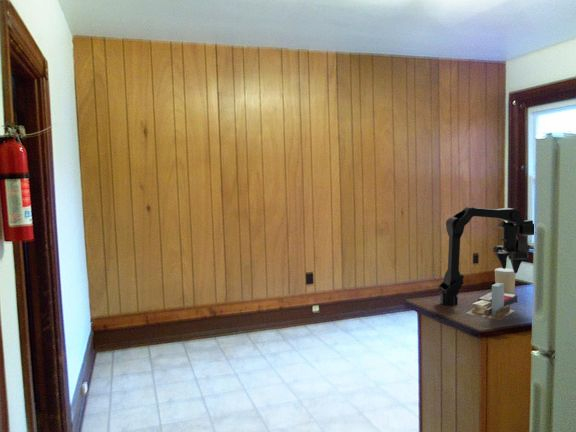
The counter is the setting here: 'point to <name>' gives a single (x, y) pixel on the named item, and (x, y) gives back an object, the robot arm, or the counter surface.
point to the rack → (499, 314)
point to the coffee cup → (506, 279)
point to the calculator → (507, 298)
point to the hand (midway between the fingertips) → (509, 270)
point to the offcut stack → (481, 306)
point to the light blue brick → (497, 297)
